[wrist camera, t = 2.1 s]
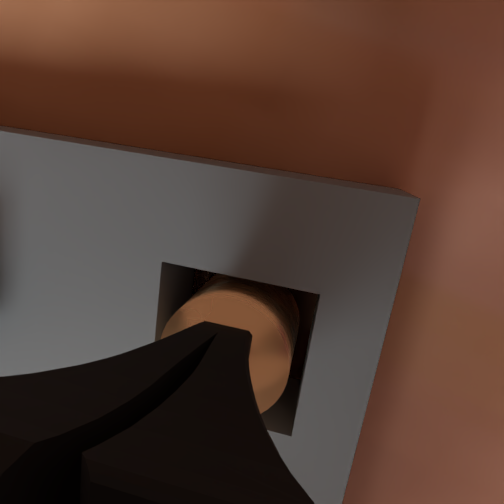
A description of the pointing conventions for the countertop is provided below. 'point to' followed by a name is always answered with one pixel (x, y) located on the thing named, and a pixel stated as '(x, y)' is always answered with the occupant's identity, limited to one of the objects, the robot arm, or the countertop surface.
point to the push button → (249, 326)
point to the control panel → (204, 258)
